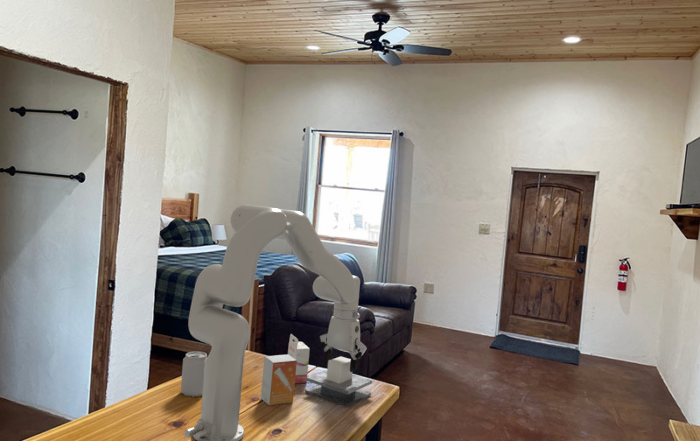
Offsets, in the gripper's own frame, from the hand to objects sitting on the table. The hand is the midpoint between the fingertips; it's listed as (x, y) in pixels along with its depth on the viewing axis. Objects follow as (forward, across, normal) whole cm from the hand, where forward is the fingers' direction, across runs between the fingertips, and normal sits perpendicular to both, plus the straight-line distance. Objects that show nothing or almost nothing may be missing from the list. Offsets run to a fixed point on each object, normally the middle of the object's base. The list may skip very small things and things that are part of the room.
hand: (340, 367), depth 174 cm
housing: (+4, 0, 0) cm, 4 cm away
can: (+9, +31, +32) cm, 45 cm away
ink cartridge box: (+9, +18, -1) cm, 20 cm away
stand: (+9, 0, 0) cm, 9 cm away
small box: (+9, +10, +18) cm, 22 cm away
